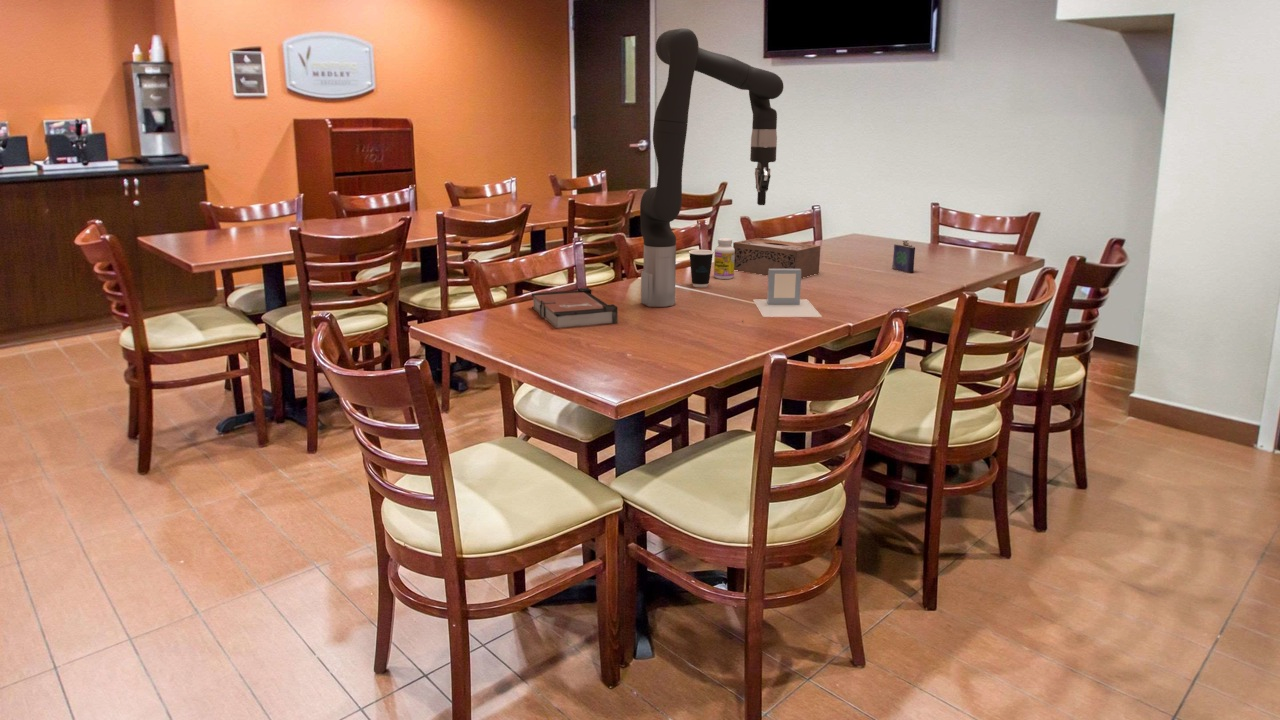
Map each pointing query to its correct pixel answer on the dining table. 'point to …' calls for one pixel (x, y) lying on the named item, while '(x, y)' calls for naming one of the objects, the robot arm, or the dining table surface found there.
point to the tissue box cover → (776, 256)
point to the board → (787, 309)
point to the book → (574, 309)
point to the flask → (903, 257)
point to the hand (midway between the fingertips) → (761, 204)
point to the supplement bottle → (724, 259)
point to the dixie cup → (700, 267)
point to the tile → (784, 286)
